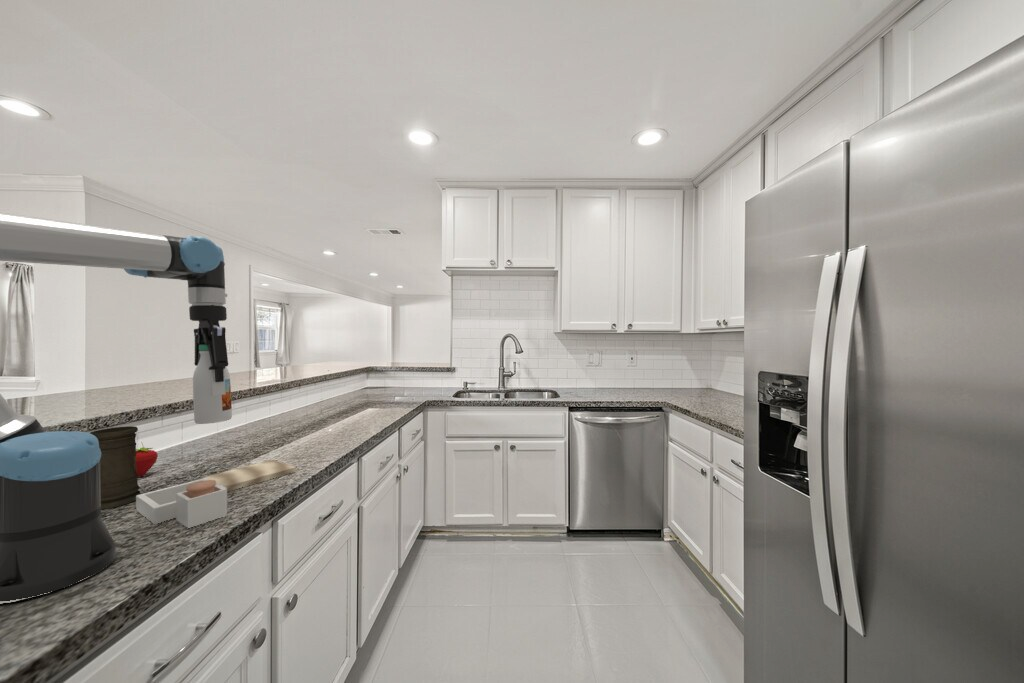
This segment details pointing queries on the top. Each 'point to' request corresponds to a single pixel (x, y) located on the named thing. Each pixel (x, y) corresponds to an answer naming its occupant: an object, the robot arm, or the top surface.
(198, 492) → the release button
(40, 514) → the robot arm
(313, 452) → the top surface
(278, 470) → the ash board
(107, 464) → the container
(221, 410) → the milk bottle
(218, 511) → the dock
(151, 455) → the strawberry
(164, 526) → the top surface
